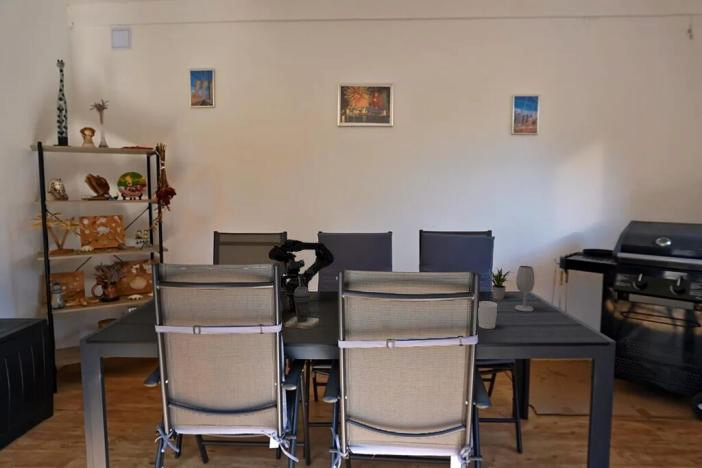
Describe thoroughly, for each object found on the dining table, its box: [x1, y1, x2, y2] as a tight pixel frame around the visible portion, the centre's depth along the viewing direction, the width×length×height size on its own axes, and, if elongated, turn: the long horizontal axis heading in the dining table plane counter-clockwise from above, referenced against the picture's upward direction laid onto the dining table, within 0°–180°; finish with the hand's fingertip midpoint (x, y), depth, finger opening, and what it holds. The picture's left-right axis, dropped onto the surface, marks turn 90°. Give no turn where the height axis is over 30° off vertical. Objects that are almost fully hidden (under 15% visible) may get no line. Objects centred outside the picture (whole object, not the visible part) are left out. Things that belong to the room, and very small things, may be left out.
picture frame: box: [284, 316, 320, 330], centre depth 195 cm, size 12×10×2 cm
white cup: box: [477, 300, 498, 330], centre depth 190 cm, size 8×8×10 cm
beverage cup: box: [293, 276, 311, 322], centre depth 194 cm, size 7×7×20 cm
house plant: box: [488, 267, 515, 300], centre depth 233 cm, size 14×14×16 cm
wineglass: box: [514, 265, 536, 313], centre depth 213 cm, size 9×9×21 cm
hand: (297, 292), depth 200 cm, fingers open, 9 cm apart
